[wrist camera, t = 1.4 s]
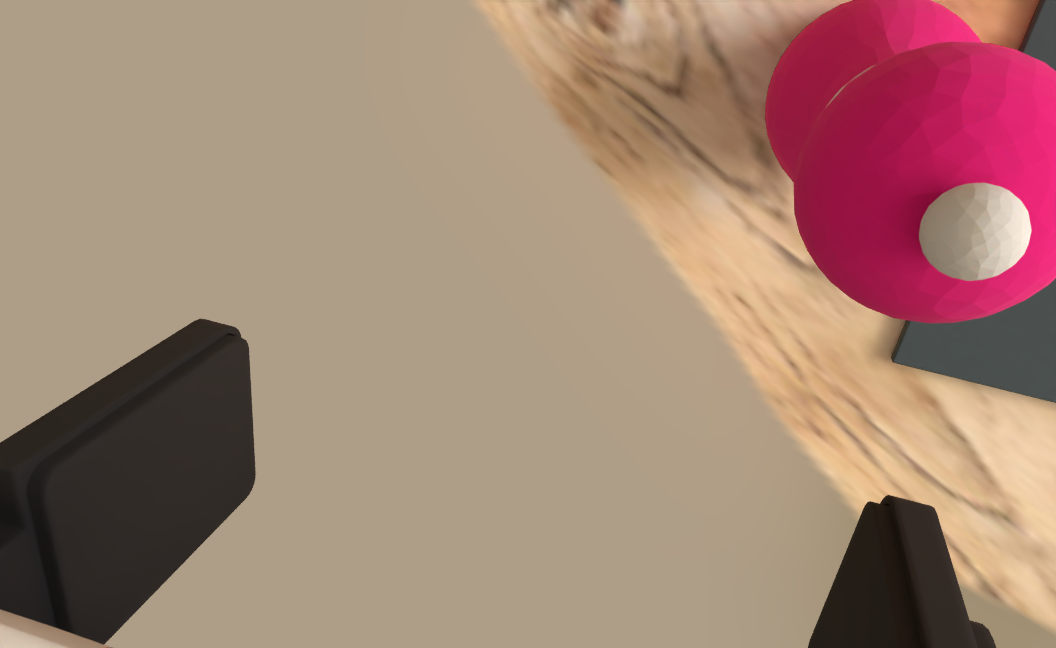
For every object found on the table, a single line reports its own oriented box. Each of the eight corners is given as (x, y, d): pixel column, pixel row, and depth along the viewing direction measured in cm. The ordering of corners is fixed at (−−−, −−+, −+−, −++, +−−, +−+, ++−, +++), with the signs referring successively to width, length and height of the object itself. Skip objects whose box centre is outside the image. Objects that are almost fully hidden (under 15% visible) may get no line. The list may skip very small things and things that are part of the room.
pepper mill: (841, -47, 29) (958, -72, 12) (1005, 53, 29) (1375, 181, 11) (729, 120, 33) (689, 296, 15) (876, 210, 32) (1007, 493, 15)
